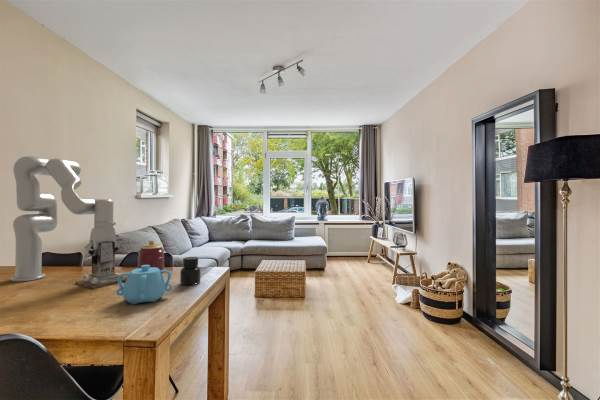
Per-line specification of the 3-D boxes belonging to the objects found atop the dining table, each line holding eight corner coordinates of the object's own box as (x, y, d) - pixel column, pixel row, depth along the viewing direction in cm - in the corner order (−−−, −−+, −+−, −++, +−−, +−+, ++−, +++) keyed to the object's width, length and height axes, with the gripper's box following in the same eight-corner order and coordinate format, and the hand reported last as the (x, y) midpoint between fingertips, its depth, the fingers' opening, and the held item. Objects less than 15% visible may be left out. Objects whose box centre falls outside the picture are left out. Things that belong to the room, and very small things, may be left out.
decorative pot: (111, 302, 113) (112, 266, 113) (150, 291, 127) (150, 259, 127) (137, 310, 105) (138, 272, 105) (175, 297, 119) (176, 263, 119)
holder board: (75, 283, 137) (75, 276, 137) (111, 276, 151) (111, 269, 151) (92, 289, 129) (92, 281, 129) (129, 280, 142) (129, 273, 143)
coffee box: (115, 275, 140) (115, 241, 140) (100, 278, 134) (100, 243, 135) (105, 272, 145) (106, 240, 145) (90, 275, 139) (91, 241, 139)
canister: (131, 275, 153) (132, 241, 153) (148, 269, 166) (148, 238, 166) (154, 276, 151) (154, 242, 151) (169, 270, 164) (169, 239, 164)
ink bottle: (204, 281, 143) (204, 256, 144) (195, 286, 135) (196, 260, 135) (185, 280, 144) (185, 256, 145) (175, 285, 136) (176, 259, 136)
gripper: (118, 223, 149) (117, 258, 149) (79, 225, 134) (78, 265, 134) (126, 224, 145) (126, 260, 145) (87, 226, 130) (86, 267, 130)
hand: (103, 262), depth 140 cm, fingers closed on coffee box, 6 cm apart
